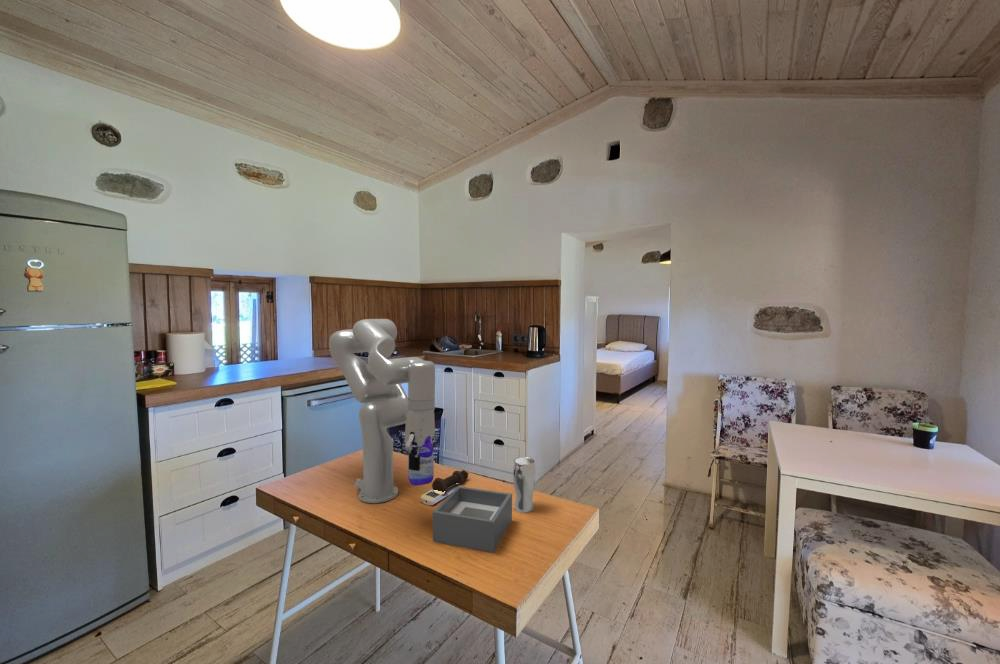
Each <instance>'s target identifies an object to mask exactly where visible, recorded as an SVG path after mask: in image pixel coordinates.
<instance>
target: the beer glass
mask: <svg viewBox="0 0 1000 664" xmlns="http://www.w3.org/2000/svg"><path fill="white" fill-rule="evenodd" d="M536 474H537V473H536V460H535V459H534V458H532V457H529V456H527V457H526V456H520V457H516V458H514V459H513V470H512V478H513V479H512V481H513V486H514V494H515V500H514V507H513V509H514V510H515V511H516V512H518V513H524V514H527V513H530V512H533V511H534V509H535V507H534V501H533V499H534V498H533V496H534V489H535V484H536V476H537V475H536Z"/></svg>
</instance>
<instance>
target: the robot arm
mask: <svg viewBox="0 0 1000 664" xmlns="http://www.w3.org/2000/svg"><path fill="white" fill-rule="evenodd" d="M397 336H398V329H397V326H396V324H395V323H394V321H392V320H390V319H388V318H366V319H365V318H364V319H361V320H358V321H356V322H355V323H354V325H353V327H352V328H351V329H342V330H341V329H340V330H338V331H335V332H334V333H332V334H331V335H330V337H329V339H328V348H329V353H330V357H331V358H332V361H333V362H334V363H335V366H337V367H338V369H339V370H340V372H341V373H342V374H343V376H344V378H345V380H346V382H347V384H348V387H349V389H350V391H351V394H352V395H353V398H354V399H355V400H356V402H358V403H360V404H363V405H362V406H361V407H360V409H359V411H358V418H359V423H360V429H361V435H362V467H363V469H362V473H363V474H362V475H363V477H362V478H356V480H355V483H354V485H353V486H354V488H359V489H360V491H359V492H358V499H359V500H360V501H361V502H363V503H367V504H379V503H380V504H381V503H384V502H385V503H386V502H388V501H390V500H394V498H396V497H397V496H398V494H399V487H398V486H396V485H395V484H394V442H393V439H392V436H391V435H390V434H389V432H388V431H387V429H389V428H392V427H397V426H400V425H405V428H404V429H405V430H404V445H405V446H404V449H405V451H406V454H407V457H408V456H409V469H410V470H415V471H419V470H420V456H419V451H420V447H421V446H423V445H424V444H425V440H426V438H427V437H428V436H430V437H431V440H430V441H431V444H432V446H433V447H434V439H435V434H436V429H435V428H436V426H435V425H436V423H435V422H436V420H435V409H436V405H435V404H436V402H435V401H436V366H435V363H434V362H433V361H430V360H424V359H423V358H420V357H418V356H409V357H396V358H390V356H392V354H393V353H394V351H395V349H396V342H395V340H396V339H397ZM360 353H368V356H367V362H366V361H365V360H364V359H363V358H361V357H360V356H358V355H356V354H360ZM402 384H407V393H406V391H405V389H404V387H403V386H402ZM414 443H417V445H413V444H414ZM413 447H414V448H416V452H415V450H414V449H413Z"/></svg>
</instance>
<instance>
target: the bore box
mask: <svg viewBox="0 0 1000 664" xmlns="http://www.w3.org/2000/svg"><path fill="white" fill-rule="evenodd" d="M512 521H513V494H512V493H508V492H501V491H494V490H486V489H480V488H474V487H473V488H472V487H467V486H466V487H465V486H461V485H457V487H456V488H455V489H453V491H451V493H449V495H447V497H446V498H445V499H443V501H442V502H441V503H440V504H439V505H437V507H436V508H435V509H434V510H433V511H432V542H433V543H439V544H444V545H450V546H456V547H459V548H466V549H471V550H476V551H481V552H488V553H492V554H494V553H495V551H496V549H497V548H498V547H499V544H500V543H501V541H502V538H503V537H504V535H505V533H506V532H507V530H508V528H509V527H510V524H511V523H512Z"/></svg>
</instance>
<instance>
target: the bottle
mask: <svg viewBox="0 0 1000 664" xmlns="http://www.w3.org/2000/svg"><path fill="white" fill-rule="evenodd" d="M430 440H431V437H430V436H428V437H427V438H426V440H425V444H424V445H423V446H421V447H420V451H419V456H420V470H419V471H415V470H410V469H409V456H408V455H407V470H408V471H407V476H408V477H407V478H408V481H409V483H410V485H413V486H416V487H417V486H423V485H429V484H431V483H433V482H432V481H434V476H435V475H434V469H435V467H434V466H435V465H434V459H435V458H434V457H435V456H434V455H435V453H434V452H435V451H434V445H433V446H432V444H431V441H430ZM413 445H417V443H414V444H413ZM413 449H414V450H415V452H416V448H414V447H413Z"/></svg>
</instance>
